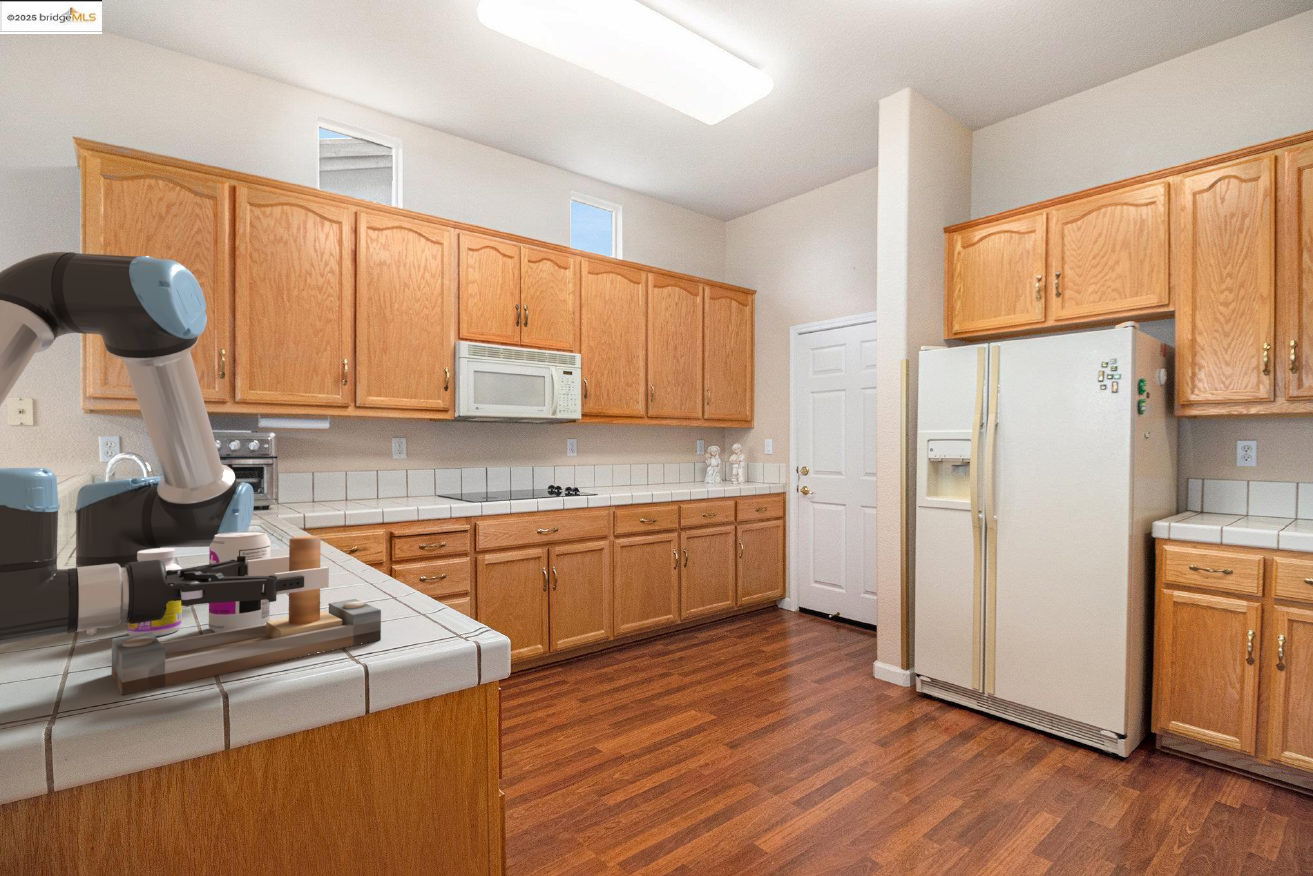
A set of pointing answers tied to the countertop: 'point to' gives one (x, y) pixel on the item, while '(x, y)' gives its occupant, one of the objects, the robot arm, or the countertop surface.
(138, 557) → the supplement bottle
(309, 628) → the carriage
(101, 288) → the robot arm
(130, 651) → the track
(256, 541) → the supplement can
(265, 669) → the countertop surface
